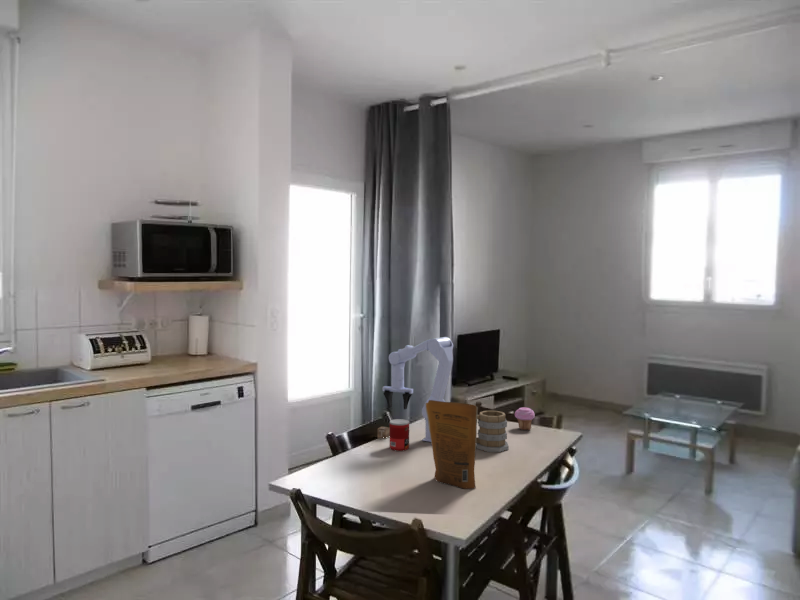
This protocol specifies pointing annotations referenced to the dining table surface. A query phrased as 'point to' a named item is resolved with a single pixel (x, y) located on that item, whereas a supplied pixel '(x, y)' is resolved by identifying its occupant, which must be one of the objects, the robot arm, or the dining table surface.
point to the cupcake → (524, 418)
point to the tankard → (492, 431)
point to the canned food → (399, 434)
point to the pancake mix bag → (453, 441)
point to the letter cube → (383, 432)
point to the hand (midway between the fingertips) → (397, 408)
